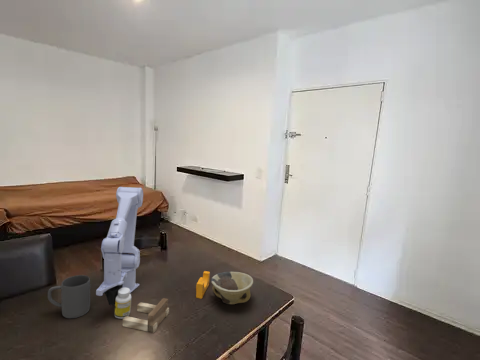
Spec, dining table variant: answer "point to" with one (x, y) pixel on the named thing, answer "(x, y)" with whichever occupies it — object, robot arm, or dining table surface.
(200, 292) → the pipe clamp
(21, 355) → the dining table surface
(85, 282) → the mug
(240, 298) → the bowl
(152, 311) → the can dock
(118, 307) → the supplement bottle
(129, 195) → the robot arm
